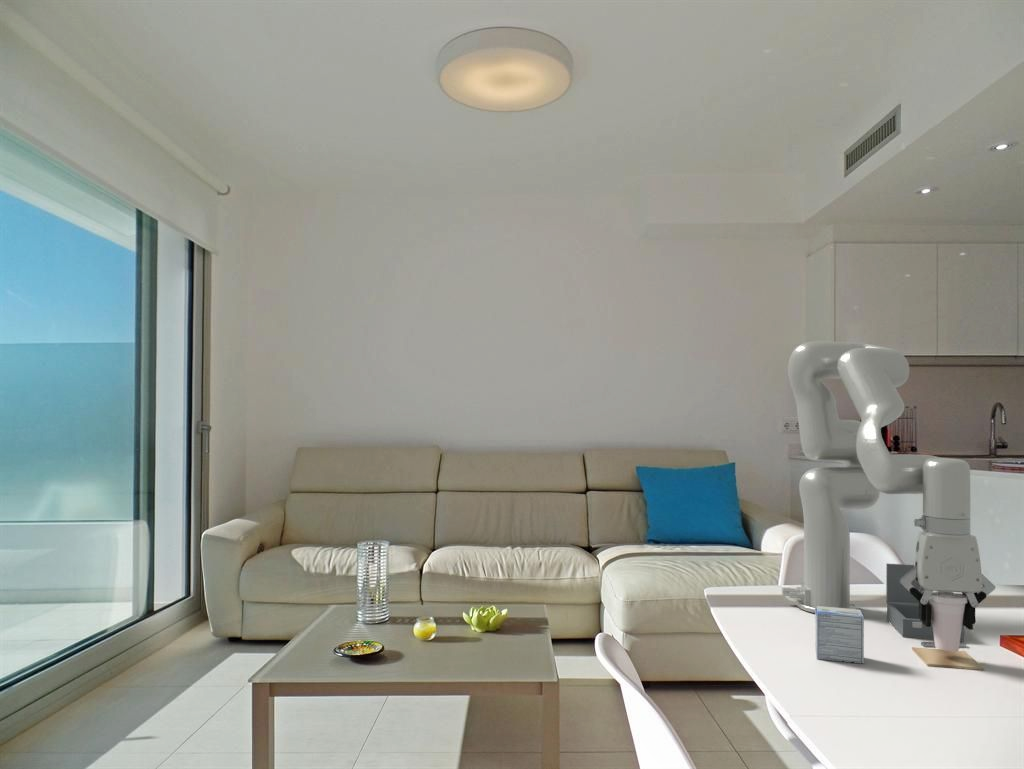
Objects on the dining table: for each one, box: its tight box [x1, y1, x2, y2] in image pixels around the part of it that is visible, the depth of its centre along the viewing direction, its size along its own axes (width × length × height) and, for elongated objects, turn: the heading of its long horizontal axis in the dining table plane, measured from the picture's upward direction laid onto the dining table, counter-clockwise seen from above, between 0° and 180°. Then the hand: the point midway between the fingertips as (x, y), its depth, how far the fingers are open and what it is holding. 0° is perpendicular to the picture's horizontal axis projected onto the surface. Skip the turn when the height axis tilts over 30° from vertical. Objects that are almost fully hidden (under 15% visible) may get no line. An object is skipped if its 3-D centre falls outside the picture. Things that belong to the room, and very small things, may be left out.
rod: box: [920, 641, 967, 649], centre depth 144 cm, size 8×1×1 cm, turn 89°
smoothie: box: [929, 591, 967, 651], centre depth 137 cm, size 6×6×14 cm
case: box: [885, 563, 965, 642], centre depth 154 cm, size 11×13×12 cm
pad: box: [911, 646, 985, 671], centre depth 137 cm, size 9×9×1 cm
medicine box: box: [814, 606, 865, 665], centre depth 137 cm, size 8×4×9 cm, turn 71°
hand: (946, 625), depth 137 cm, fingers closed on smoothie, 6 cm apart
